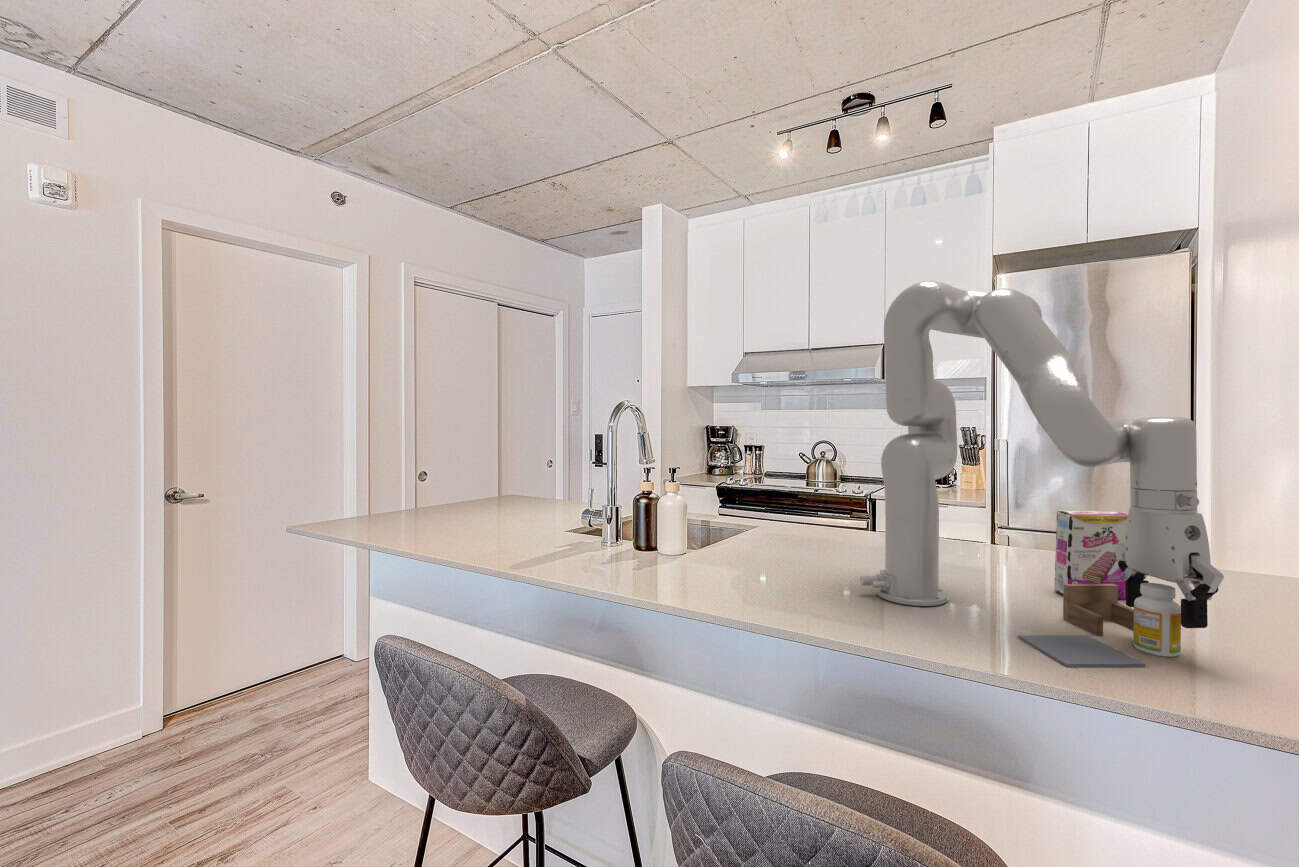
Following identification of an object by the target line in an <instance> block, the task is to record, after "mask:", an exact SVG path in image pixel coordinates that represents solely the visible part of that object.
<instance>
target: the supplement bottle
mask: <svg viewBox="0 0 1299 867" xmlns="http://www.w3.org/2000/svg"><path fill="white" fill-rule="evenodd" d="M1140 593H1141V594H1142V596H1141V597H1138V598H1136V599H1135V601H1134V607H1133V609H1134V630H1133V634H1132V635H1133V636H1132V637H1133V639H1132V640H1133V641H1132V642H1133V646H1134V648H1135V649H1137V650H1139V651H1141V652H1143V653H1147V654H1149V655H1153V656H1156V657H1157V656H1158V657H1166V658H1173V657H1178V656H1180V654H1181V641H1182V640H1181V638H1182V634H1181V633H1182V625H1181V604H1179V603H1178V602H1175V601H1174V600H1175V599H1176V596H1177V595H1176V593H1177V592H1176V588H1175V587H1174V586H1171V585H1168V584H1163V583H1159V582H1158V583H1156V582H1149V583H1141V586H1140Z"/></svg>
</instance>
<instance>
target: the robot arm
mask: <svg viewBox="0 0 1299 867" xmlns="http://www.w3.org/2000/svg"><path fill="white" fill-rule="evenodd" d="M883 324H884V325H883V342H884V362H885V363H884V364H885V365H884V366H885V367H884V371H885V372H884V373H885V374H884V375H885V377H884V378H885V380H884V381H885V406H886V408H885V409H886V412H887V415H888V417H889V419H890V420H891V421H892V422H893V423H895V424H897V425H899V426H903V427H907V433H906V434H901V435H898V436H895V437H894V438H892V439H891V440H890V441H889V442H888V443H887V444H886V445H885V447H884V449H883V450H882V451H883V452H882V454H881V458H880V467H881V473H882V474H881V475H882V479H883V487H884V516H885V520H884V522H885V525H884V529H885V535H884V536H885V538H884V540H885V541H884V544H885V545H884V569H880V570H879V573H876V574H875V575H860V577H859V584H860V586H865V587H866V586H868V587H869V586H870V587H871V588H872V589H876V594H877V596H879V597H880V598H881V599H883V600H886V601H888V602H891V603H896V604H900V605H906V606H913V607H914V606H915V607H935V606H940V605H944V604H945V603H947V601H948V594H947V593H946V592H945V591H944V590H942V589H940V588H939V583H940V582H939V580H940V579H939V574H940V573H939V570H940V568H939V566H940V565H939V563H940V562H939V561H940V560H939V559H940V554H939V553H940V550H939V549H940V505H939V496H938V489H937V484H936V480H940V479H943V478H945V477H946V476H947V475H949V474H950V473H952V471H953V470H954V468H955V466H956V463H957V457H958V433H957V432H958V430H957V427H958V426H957V408H956V406H957V405H956V402H955V397H954V395H953V393H952V391H951V389H949V387H948V386H947V385H945V383H943V382H942V381H940V380H936V379H935V375H934V353H933V349H932V344H931V342H930V332H931V331H932V330H933V331H937V332H941V333H947V334H951V335H958V336H959V335H960V336H968V337H972V338H973V337H974V338H979V339H984V340H985V341H986V343H987V344H988V345H989V347H990V348H991V349H992V351H993V352H994V353H995V355H996V356H997V358H998V359H999V360H1000V361H1001V362H1002V364H1003V365H1004V366H1005V368H1006V370H1008V372H1009V373H1010V375H1011V376H1012V378H1013V379H1014V381H1015V382H1016V384H1017V386H1018V388H1019V390H1020V392H1021V394H1022V396H1023V398H1024V399H1025V402H1026V403H1027V405H1028V408H1029V409H1030V411H1031V412H1032V414H1033V416H1034V418H1035V419H1036V421H1037V422H1038V424H1039V425H1040V426H1041V428H1042V429H1043V431H1044V432H1045V433H1046V435H1047V436H1048V437H1049V438H1050V440H1051V441H1052V443H1053V444H1054V446H1056V448H1057V449H1058V450H1059V452H1060V453H1061V454H1062V455H1063V456H1064V457H1065V458H1066V459H1067V460H1069V461H1070V462H1072V463H1074V464H1076V465H1078V466H1080V467H1087V468H1096V467H1102V466H1106V465H1107V466H1108V465H1112V464H1121V463H1129V497H1130V499H1129V500H1130V503H1129V504H1130V506H1129V509H1128V514H1127V515H1128V518H1127V525H1126V534H1125V544H1124V545H1122V546H1119V547H1117V548H1115V549H1114V552H1115V555H1116V557H1117V560H1118V561H1119V562H1118V566H1119V568H1120V569H1121V571H1122V572H1123V573H1122V578H1123V579H1124V580H1127V581H1126V600H1125V606H1126V607H1129V608H1134V601H1135V599H1136V598H1138V597H1141V596H1142V594H1141V593H1140V586H1141V583H1150V582H1149V580H1146V578H1147V577H1148V576H1149V577H1153V578H1156V579H1159V580H1163V581H1165V582H1171V583H1175V584H1176V585H1177V586H1178V589H1179V590H1180V591H1181V593H1182V595H1183V596H1184V598H1181V599H1180V607H1181V628H1185V629H1206V628H1207V627H1208V621H1209V620H1208V601H1211V600H1212V599H1213V596H1214V595H1215V594H1217V593H1218V592H1219V587H1220V585H1221V583H1222V582H1223V580H1224V574H1223V573H1222V572H1221V571H1220V570H1218V568H1216V567H1215V566H1213V565H1212V562H1211V552H1210V550H1211V549H1210V542H1209V535H1208V532H1207V526H1206V523H1205V519H1204V517H1203V513H1200V512H1198V506H1199V504H1200V499H1199V498H1198V468H1197V467H1198V464H1197V463H1198V459H1197V458H1198V457H1197V454H1198V452H1197V451H1198V450H1197V448H1198V447H1197V440H1198V439H1197V426H1196V424H1195V422H1194V421H1193V420H1191V419H1190V418H1188V417H1178V416H1177V417H1176V416H1175V417H1174V416H1173V417H1172V416H1166V417H1165V416H1163V417H1158V416H1157V417H1142V418H1137V419H1129V418H1128V419H1127V418H1126V419H1125V418H1116V417H1108V416H1107V417H1105V416H1104V415H1103V413H1102V412H1101V411H1100V409H1099V408H1098V406H1096V405H1095V403H1094V401H1092V399H1091V398H1090V397H1089V395H1088V394H1087V393H1086V392H1085V389H1083V387H1082V385H1081V384H1080V382H1079V380H1078V378H1077V376H1076V374H1075V370H1074V362H1073V358H1072V356H1071V353H1070V352H1069V351H1068V349H1067V348H1066V347H1065V346H1064V344H1063V343H1062V342H1061V340H1060V339H1059V338H1058V337H1057V335H1055V333H1054V332H1053V331H1052V330H1051V329H1050V327H1049V326H1048V325H1047V323H1046V321H1044V320H1043V315H1042V309H1041V307H1040V305H1039V304H1038V302H1037V301H1036V300H1035V299H1034V298H1032V297H1031V296H1029V295H1027V294H1025V293H1022V292H1020V291H1018V290H1015V289H1012V288H998V289H994V290H991V291H989V292H982V291H981V292H980V291H973V290H965V289H960V288H957V287H955V286H952V285H950V284H947V283H944V282H940V281H935V280H924V281H920V282H917V283H914V284H912V285H910V286H908V287H906V288H905V289H903V291H901V292H900V293H899V294H898V295H897V296H896V298H894V300H893V301H892V303H891V304H890V306H889V308H888V310H887V311H886V314H885V318H884V322H883ZM1191 585H1192V586H1193V587H1194V588H1193V589H1192V587H1191Z"/></svg>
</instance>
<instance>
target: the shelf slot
mask: <svg viewBox="0 0 1299 867" xmlns="http://www.w3.org/2000/svg"><path fill="white" fill-rule="evenodd" d="M1062 597H1063V598H1062V599H1063V603H1062V609H1063V610H1062V619H1063V620H1065V621H1067V622H1069V623H1071V624H1073V625H1075V626H1077V627H1079V628H1082V629H1083V630H1084V631H1085V630H1086V631H1088V632H1089V633H1091V634H1093V635H1096V636H1104V621H1111V622H1114V623H1116V624H1118V625H1121V626H1123V627H1125V628H1127V629H1130V630H1132V631H1134V608H1132V607H1129V606H1127V605H1123V604H1121V603H1119V602H1118V601H1119V600H1118V585H1115V584H1064V589H1063V595H1062Z"/></svg>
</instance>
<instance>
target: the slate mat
mask: <svg viewBox="0 0 1299 867" xmlns="http://www.w3.org/2000/svg"><path fill="white" fill-rule="evenodd" d="M1017 638H1018V639H1019V640H1021V641H1023V642H1024V643H1025V644H1027V645H1029V646H1031V647H1032V648H1034V649H1035V650H1037V651H1039V652H1040V653H1042V654H1044V655H1046V656H1047V657H1049V658H1051V659H1053V660H1054V661H1055V662H1057V663H1059V664H1061V665H1062V666H1064V667H1065V668H1108V667H1109V668H1116V667H1117V668H1121V667H1122V668H1123V667H1124V668H1125V667H1126V668H1127V667H1128V668H1130V667H1132V668H1134V667H1137V668H1139V667H1140V668H1142V667H1143V668H1144V667H1146V663H1145V662H1143V661H1140V660H1139V659H1136V658H1134V657H1133V656H1130V655H1129V654H1126V653H1125V652H1122V651H1121V650H1119V649H1116V648H1115V647H1112V646H1111V645H1109V644H1106V643H1104V642H1102V641H1100V640H1099V639H1097V638H1094V637H1093V636H1090V635H1089V634H1060V635H1059V634H1056V635H1055V634H1052V635H1050V634H1039V635H1037V634H1033V635H1029V634H1027V635H1024V634H1022V635H1021V634H1020V635H1019V634H1018V636H1017Z"/></svg>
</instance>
